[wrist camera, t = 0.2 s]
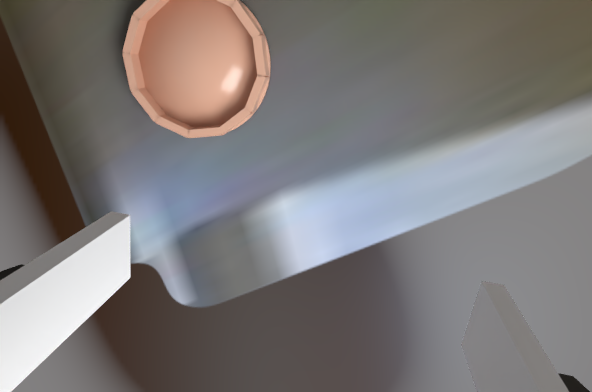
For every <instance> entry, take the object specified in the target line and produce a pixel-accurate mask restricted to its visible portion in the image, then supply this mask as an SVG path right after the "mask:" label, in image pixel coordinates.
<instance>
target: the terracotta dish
mask: <svg viewBox="0 0 592 392" xmlns="http://www.w3.org/2000/svg"><path fill="white" fill-rule="evenodd" d="M133 14H134V15H132V17H131V21H130V24H129V28H128V32H127V36H126V39H125V43H124V47H123V51H122V52H124V53H122V54H123V59H124V63H125V68H126V73H127V77H128V82H129V86H130V91H132V92H131V93H132V94H133V95H134V97H135V98H136V99H137V101H138V102H139V103H140V104H141V106H142V107H143V108H144V110H145V111H146V112H147V113H148V115H149V116H150V117H151V119H152V120H153V121H154V122H155V123H157V124H159V125H161V126H163V127H165V128H167V129H169V130H172V131H174V132H176V133H178V134H180V135H182V136H184V137H186V138H188V137H189V138H196V137H208V136H219V135H224V134H226V133H228V132H229V131H231V130H234V129H236V128H237V127H239V126H240V125H242V124H243V123H245V122H246V121H247V120H248V119H249V118H250V117H251V116H252V115H253V114H254V113H255V112H256V111H257V109H258V108H259V106H260V104H261V103H262V101H263V99H264V97H265V95H266V92H267V88H268V85H269V80H270V73H271V58H270V51H269V46H268V42H267V39H266V36H265V34H264V32H263V29H262V27H261V25H260V24H259V22H258V20H257V19H256V17H255V16H254V15H253V13H252V12H251V11H250V9H249V8H248V7H246V6H245V5H244V4H243V3H242V2H241V1H240V0H146V1H145V2H144V3H143V4H142V5H141V6H140V7H139V8H138V9H137V10H136V11H135V12H134V13H133Z"/></svg>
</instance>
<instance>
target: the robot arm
mask: <svg viewBox="0 0 592 392" xmlns="http://www.w3.org/2000/svg"><path fill="white" fill-rule="evenodd" d="M129 278H130V215H127V214H122V213H116V212H110V213H108V214H107V215H105V216H103V217H102V218H100V219H99V220H97V221H95V222H94V223H92V224H91V225H89V226H87V227H86V228H84V229H83V230H81V231H79V232H78V233H76V234H74V235H73V236H71V237H70V238H68V239H66V240H65V241H63V242H62V243H60V244H58V245H57V246H55V247H54V248H52V249H51V250H49V251H47V252H46V253H44V254H42V255H41V256H39V257H37V258H36V259H35V260H33V261H31V262H30V263H28V264H26V265H18V266H15V267H12V268H9V269H7V270H4V271H1V272H0V392H11V391H12V390H13V389H14V388H15V387H16V386H17V385H18V384H19V383H21V381H23V380H24V379H25V378H26V377H27V376H28V375H29V374H30V373H31V372H32V371H33V370H34V369H35V368H36V367H37V366H38V365H39V364H40V363H41V362H43V361H44V360H45V359H46V358H47V357H48V356H49V355H50V354H51V353H52V352H53V351H54V350H55V349H56V348H57V347H58V346H59V345H60V344H61V343H62V342H63V341H64V340H66V338H68V337H69V336H70V335H71V334H72V333H73V332H74V331H75V330H76V329H77V328H78V327H79V326H80V325H81V324H82V323H83V322H84V321H85V320H87V319H88V318H89V317H90V315H92V314H93V313H94V312H95V311H96V310H97V309H98V308H99V307H100V306H101V305H102V304H103V303H104V302H105V301H106V300H107V299H108V298H109V297H111V296H112V295H113V294H114V293H115V292H116V291H117V290H118V289H119V288H120V287H121V286H122V285H123V284H124V283H125V282H126V281H127V280H128V279H129ZM461 346H462V349H463V352H464V355H465V358H466V360H467V364H468V367H469V370H470V372H471V375H472V378H473V381H474V384H475V387H476V390H477V392H590V391H589V390H587V389H586V388H585V387H584V386H583V385H582V384H581V383H580V382H579V381H578V380H577V379H575V378H574V377H573V376H569V375H564V374H558V373H557V371H556V369H555V368H554V366H553V364H552V363H551V361H550V359H549V358H548V356H547V354H546V353H545V351H544V350H543V348H542V346H541V345H540V343H539V341H538V340H537V338H536V336H535V335H534V333H533V332H532V330H531V328H530V327H529V325H528V323H527V322H526V320H525V319H524V317H523V315H522V314H521V312H520V310H519V309H518V307H517V305H516V304H515V302H514V300H513V299H512V297H511V296H510V294H509V292H508V291H507V289H506V287H505V286H504V285H502V284H496V283H491V282H486V281H481V284H480V287H479V291H478V294H477V297H476V300H475V303H474V306H473V309H472V312H471V315H470V319H469V322H468V325H467V328H466V331H465V334H464V338H463V340H462V344H461Z"/></svg>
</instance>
